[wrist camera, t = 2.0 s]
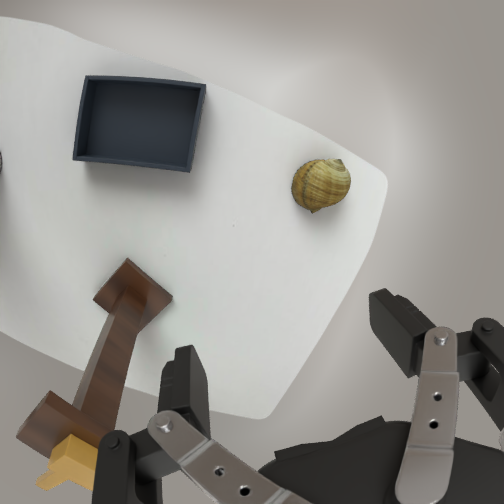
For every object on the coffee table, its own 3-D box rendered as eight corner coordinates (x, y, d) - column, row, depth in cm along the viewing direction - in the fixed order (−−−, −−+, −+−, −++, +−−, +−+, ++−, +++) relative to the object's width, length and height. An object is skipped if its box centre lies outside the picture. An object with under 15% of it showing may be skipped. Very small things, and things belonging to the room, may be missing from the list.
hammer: (60, 490, 24) (56, 505, 22) (25, 470, 23) (20, 485, 20) (118, 459, 22) (115, 480, 20) (71, 433, 20) (64, 454, 18)
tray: (83, 157, 42) (72, 160, 38) (95, 79, 38) (85, 75, 33) (191, 169, 45) (189, 172, 41) (206, 88, 41) (206, 84, 37)
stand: (142, 333, 54) (111, 490, 24) (90, 291, 50) (15, 437, 20) (177, 299, 52) (161, 467, 23) (123, 253, 48) (44, 402, 19)
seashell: (302, 199, 53) (339, 223, 49) (277, 201, 48) (317, 228, 44) (324, 147, 49) (364, 169, 45) (299, 142, 44) (344, 165, 40)
